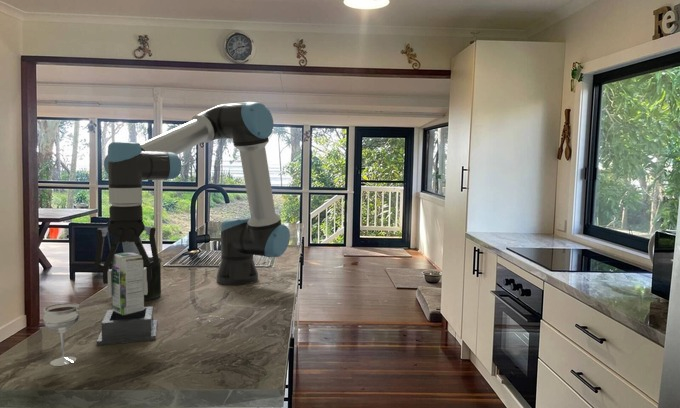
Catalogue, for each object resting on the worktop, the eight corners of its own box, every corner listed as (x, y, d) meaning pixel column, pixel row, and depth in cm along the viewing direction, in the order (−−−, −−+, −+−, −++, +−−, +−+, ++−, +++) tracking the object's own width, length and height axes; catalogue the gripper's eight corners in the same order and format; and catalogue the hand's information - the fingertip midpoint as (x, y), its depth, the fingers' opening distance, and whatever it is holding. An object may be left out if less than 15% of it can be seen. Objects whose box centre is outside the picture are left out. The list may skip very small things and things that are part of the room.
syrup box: (112, 311, 120) (109, 254, 119) (134, 305, 124) (133, 251, 123) (122, 316, 116) (120, 257, 115) (145, 310, 121) (143, 254, 119)
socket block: (157, 322, 129) (157, 304, 129) (155, 339, 117) (155, 319, 116) (104, 327, 125) (103, 309, 124) (96, 345, 113) (96, 325, 112)
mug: (154, 302, 148) (153, 264, 147) (108, 301, 149) (107, 263, 148) (167, 292, 159) (167, 257, 158) (124, 291, 159) (123, 256, 158)
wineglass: (42, 369, 99) (40, 313, 98) (47, 357, 105) (45, 304, 104) (79, 364, 102) (77, 310, 101) (82, 353, 108) (80, 301, 107)
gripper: (169, 202, 125) (171, 288, 127) (82, 204, 118) (86, 294, 120) (169, 205, 118) (170, 295, 120) (77, 206, 111) (80, 302, 113)
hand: (128, 294), depth 120 cm, fingers closed on syrup box, 7 cm apart
